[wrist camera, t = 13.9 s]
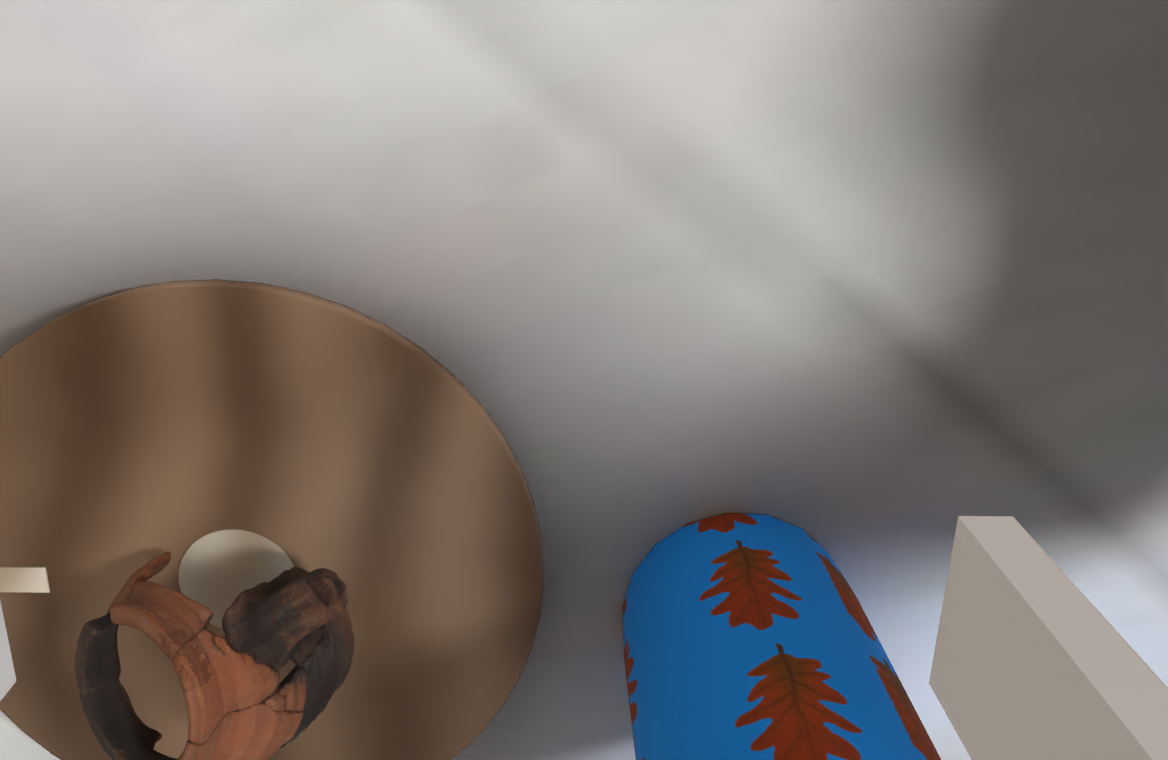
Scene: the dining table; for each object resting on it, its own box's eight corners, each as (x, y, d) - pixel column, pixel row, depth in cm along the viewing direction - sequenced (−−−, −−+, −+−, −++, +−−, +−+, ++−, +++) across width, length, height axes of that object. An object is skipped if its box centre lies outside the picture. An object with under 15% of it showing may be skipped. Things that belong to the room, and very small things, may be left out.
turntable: (548, 286, 40) (548, 293, 39) (538, 803, 49) (538, 820, 48) (-124, 272, 39) (-142, 280, 38) (-8, 804, 48) (-20, 821, 47)
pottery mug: (294, 746, 47) (144, 849, 40) (185, 578, 48) (22, 648, 41) (449, 623, 41) (308, 717, 34) (321, 437, 43) (160, 490, 36)
